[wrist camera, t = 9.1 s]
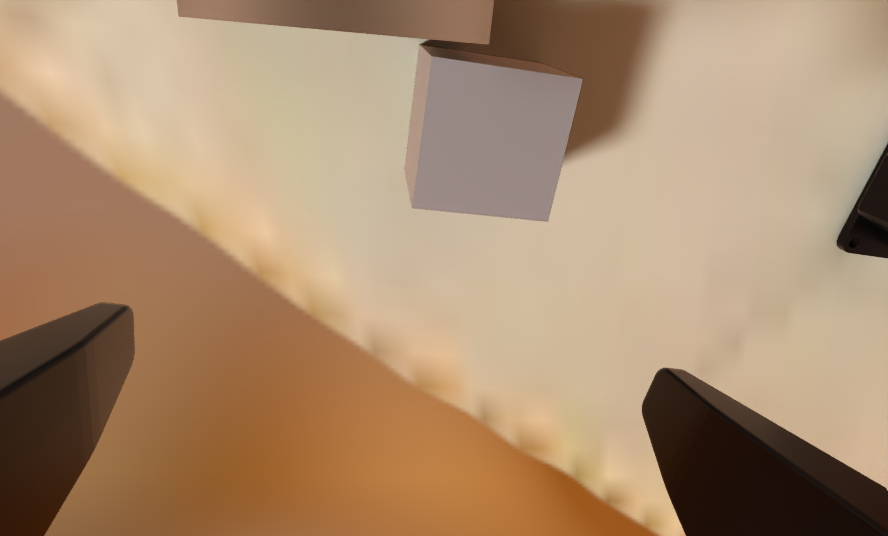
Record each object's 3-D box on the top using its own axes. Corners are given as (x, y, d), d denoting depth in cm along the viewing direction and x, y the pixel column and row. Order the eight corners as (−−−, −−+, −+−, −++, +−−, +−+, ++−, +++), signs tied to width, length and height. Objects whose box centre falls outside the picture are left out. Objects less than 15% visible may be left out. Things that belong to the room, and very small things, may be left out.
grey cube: (540, 62, 20) (583, 78, 16) (515, 180, 22) (547, 221, 18) (419, 44, 19) (431, 56, 15) (404, 168, 21) (411, 208, 17)
